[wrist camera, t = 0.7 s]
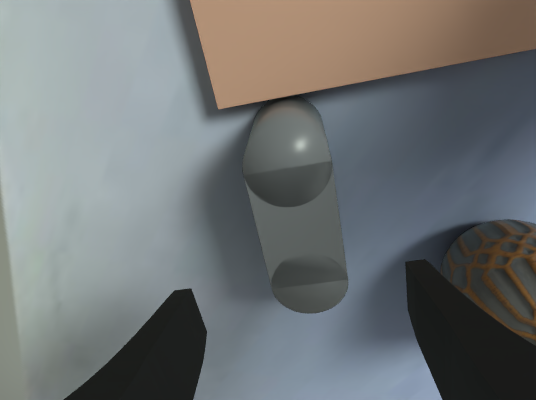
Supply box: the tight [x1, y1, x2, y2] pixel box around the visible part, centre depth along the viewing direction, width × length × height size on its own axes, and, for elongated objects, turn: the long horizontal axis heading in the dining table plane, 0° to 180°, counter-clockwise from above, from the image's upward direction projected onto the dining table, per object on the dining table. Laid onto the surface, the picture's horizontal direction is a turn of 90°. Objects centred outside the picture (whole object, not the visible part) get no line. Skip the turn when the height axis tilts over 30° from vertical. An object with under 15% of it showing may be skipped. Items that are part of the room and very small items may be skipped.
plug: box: [242, 95, 348, 313], centre depth 20 cm, size 4×11×5 cm, turn 11°
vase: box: [440, 220, 536, 346], centre depth 19 cm, size 7×7×9 cm
